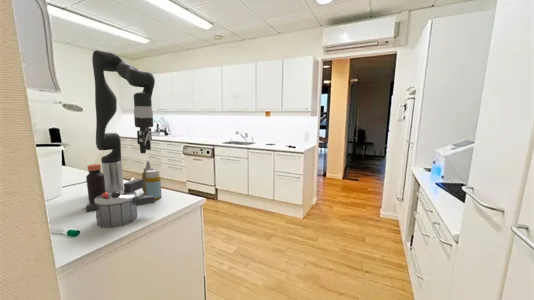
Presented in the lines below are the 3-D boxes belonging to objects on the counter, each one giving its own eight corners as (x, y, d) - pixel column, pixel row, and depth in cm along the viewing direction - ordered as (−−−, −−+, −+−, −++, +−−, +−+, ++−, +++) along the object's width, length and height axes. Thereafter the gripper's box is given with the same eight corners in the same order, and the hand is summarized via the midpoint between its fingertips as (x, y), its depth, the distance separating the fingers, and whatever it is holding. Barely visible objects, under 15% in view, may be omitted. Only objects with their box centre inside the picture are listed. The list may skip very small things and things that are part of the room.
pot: (85, 232, 86) (82, 210, 84) (91, 218, 98) (89, 198, 96) (156, 219, 97) (154, 199, 96) (154, 207, 109) (152, 189, 108)
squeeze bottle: (147, 196, 124) (144, 163, 121) (139, 193, 128) (136, 161, 125) (161, 192, 131) (159, 161, 128) (152, 189, 135) (150, 159, 132)
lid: (117, 207, 87) (115, 195, 86) (84, 204, 89) (83, 192, 89) (154, 189, 107) (153, 179, 107) (127, 187, 110) (126, 177, 109)
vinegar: (107, 206, 110) (103, 165, 107) (89, 209, 106) (84, 167, 103) (106, 201, 116) (102, 163, 113) (89, 204, 112) (85, 164, 109)
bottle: (144, 199, 120) (141, 171, 117) (155, 195, 126) (154, 168, 123) (152, 201, 116) (150, 173, 114) (164, 197, 123) (162, 170, 120)
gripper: (139, 115, 111) (141, 148, 113) (129, 117, 97) (131, 154, 100) (156, 116, 112) (157, 148, 115) (148, 117, 99) (150, 154, 102)
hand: (145, 151), depth 107 cm, fingers open, 8 cm apart
